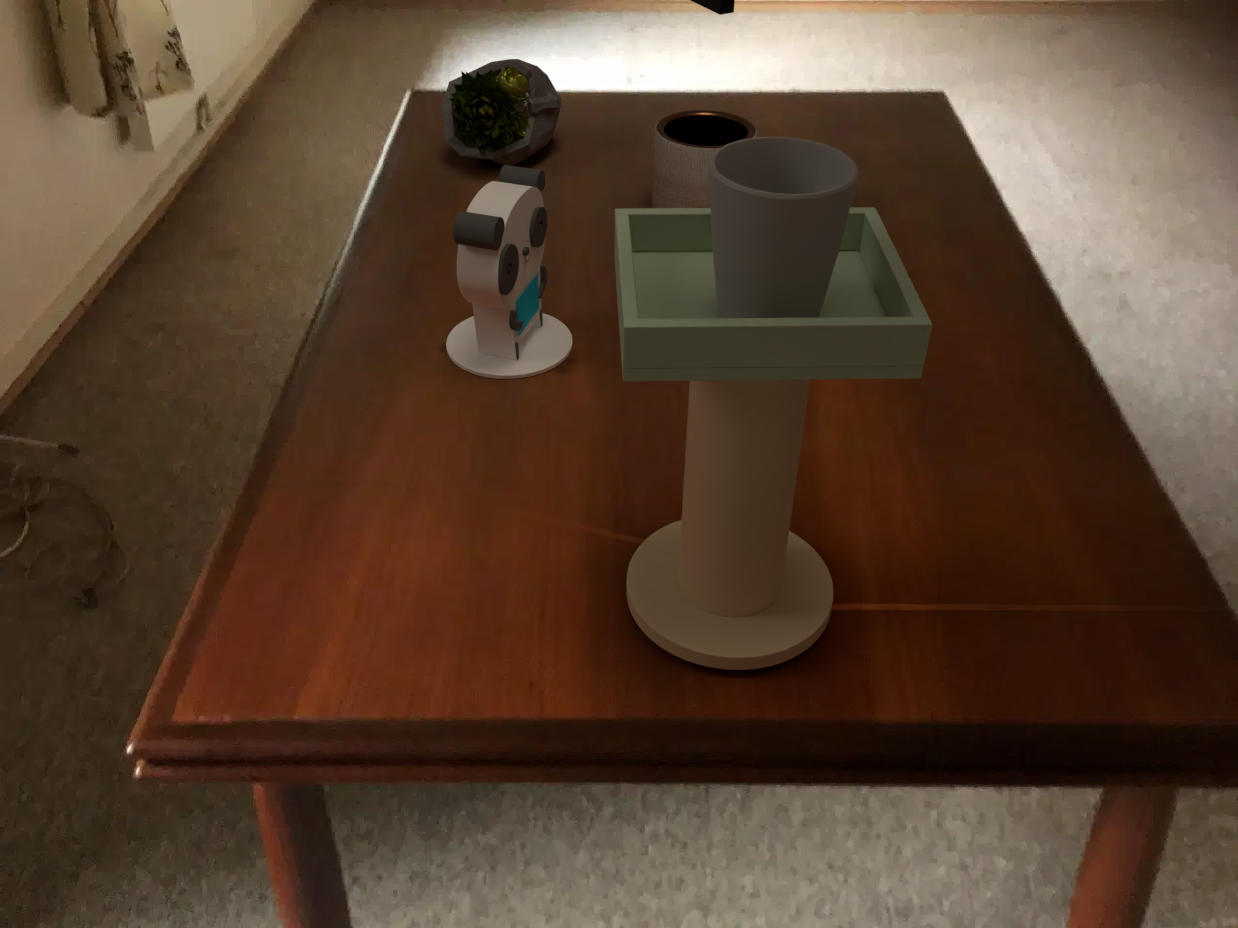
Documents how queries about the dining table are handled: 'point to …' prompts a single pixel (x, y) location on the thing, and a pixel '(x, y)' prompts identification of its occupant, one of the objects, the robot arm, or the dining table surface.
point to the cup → (777, 224)
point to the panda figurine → (505, 282)
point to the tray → (747, 429)
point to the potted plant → (501, 111)
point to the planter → (691, 154)
